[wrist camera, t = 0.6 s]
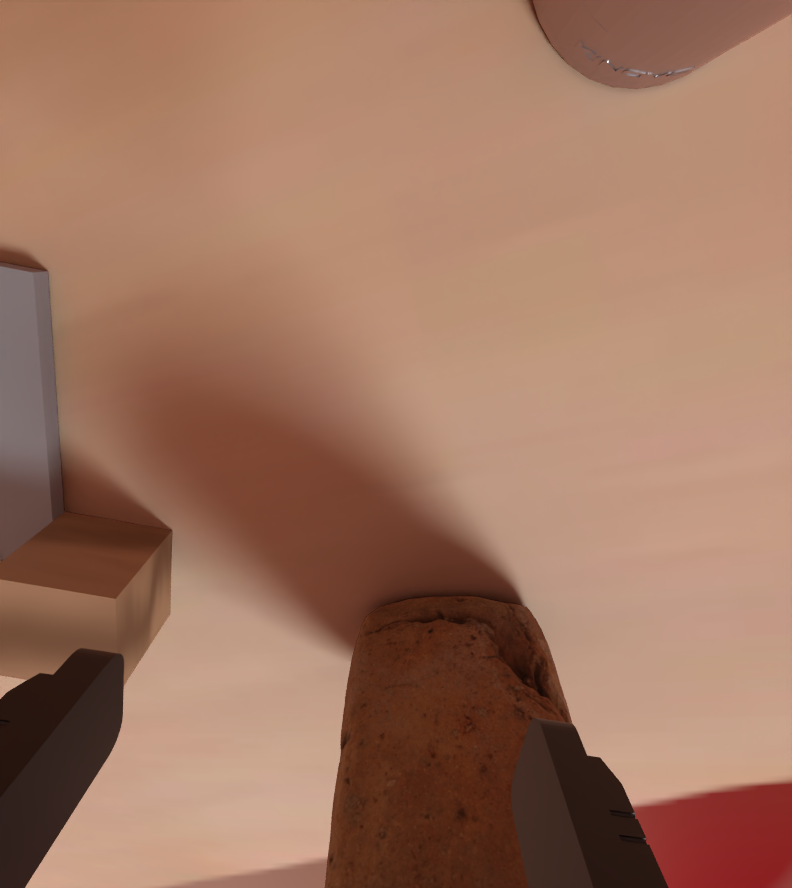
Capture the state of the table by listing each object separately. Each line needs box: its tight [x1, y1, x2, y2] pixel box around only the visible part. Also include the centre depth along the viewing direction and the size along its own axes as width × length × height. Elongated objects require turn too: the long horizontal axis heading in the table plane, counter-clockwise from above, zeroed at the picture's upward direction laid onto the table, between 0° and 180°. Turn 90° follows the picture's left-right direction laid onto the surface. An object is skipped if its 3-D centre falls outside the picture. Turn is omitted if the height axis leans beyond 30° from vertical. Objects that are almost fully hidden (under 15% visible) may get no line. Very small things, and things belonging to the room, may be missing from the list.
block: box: [325, 596, 572, 888], centre depth 22 cm, size 11×8×20 cm
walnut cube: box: [0, 512, 172, 685], centre depth 27 cm, size 6×6×6 cm
